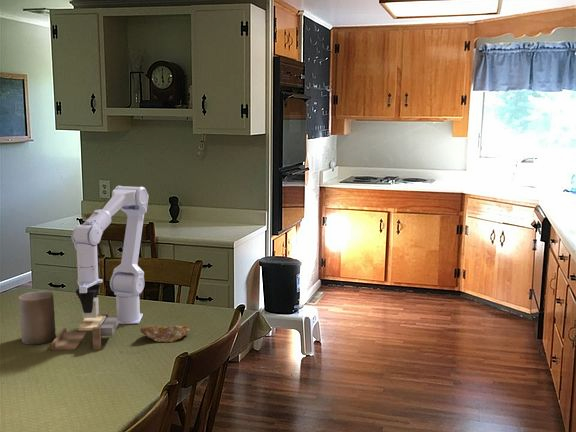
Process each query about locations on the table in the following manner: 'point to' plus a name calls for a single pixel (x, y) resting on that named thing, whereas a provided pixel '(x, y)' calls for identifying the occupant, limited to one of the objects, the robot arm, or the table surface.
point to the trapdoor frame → (76, 338)
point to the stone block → (94, 310)
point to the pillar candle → (37, 317)
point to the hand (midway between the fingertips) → (89, 310)
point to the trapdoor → (106, 328)
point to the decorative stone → (165, 333)
